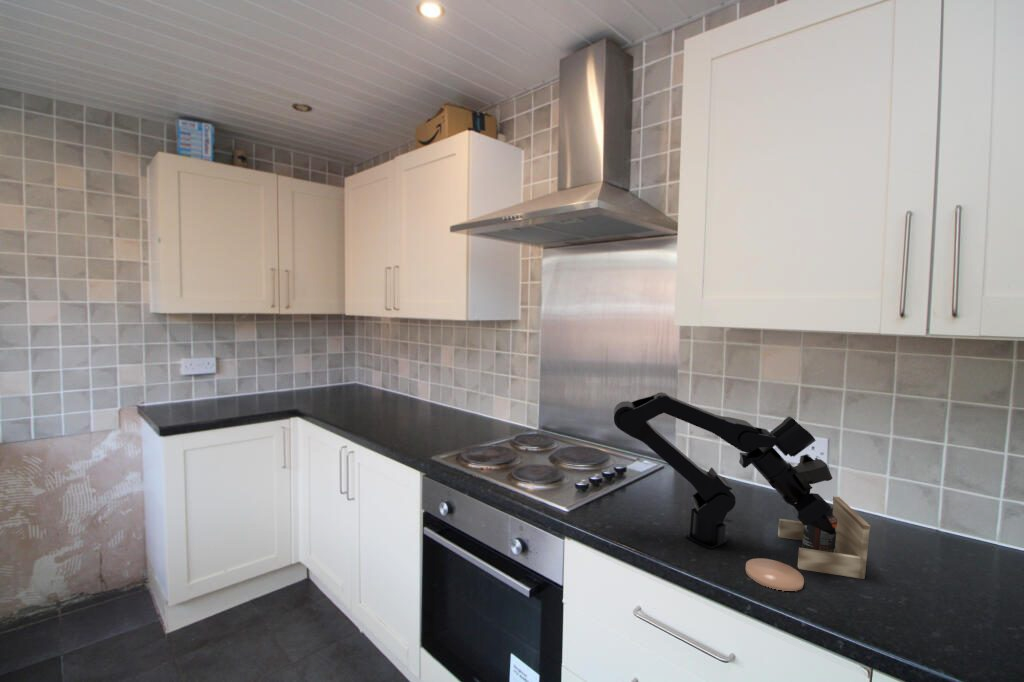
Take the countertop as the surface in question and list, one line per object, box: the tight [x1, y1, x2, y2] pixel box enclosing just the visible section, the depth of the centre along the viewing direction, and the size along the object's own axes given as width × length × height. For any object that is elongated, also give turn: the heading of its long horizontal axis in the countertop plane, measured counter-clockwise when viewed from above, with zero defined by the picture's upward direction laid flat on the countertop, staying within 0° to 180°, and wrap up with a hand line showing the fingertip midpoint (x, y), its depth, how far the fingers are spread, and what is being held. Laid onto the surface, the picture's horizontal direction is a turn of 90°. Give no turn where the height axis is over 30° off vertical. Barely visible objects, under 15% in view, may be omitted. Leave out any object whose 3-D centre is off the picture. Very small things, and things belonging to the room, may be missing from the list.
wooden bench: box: [777, 496, 872, 580], centre depth 104 cm, size 12×15×11 cm
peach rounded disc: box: [745, 557, 805, 592], centre depth 95 cm, size 10×10×1 cm
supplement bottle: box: [801, 502, 837, 553], centre depth 104 cm, size 6×6×11 cm
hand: (827, 526), depth 103 cm, fingers closed on supplement bottle, 6 cm apart
